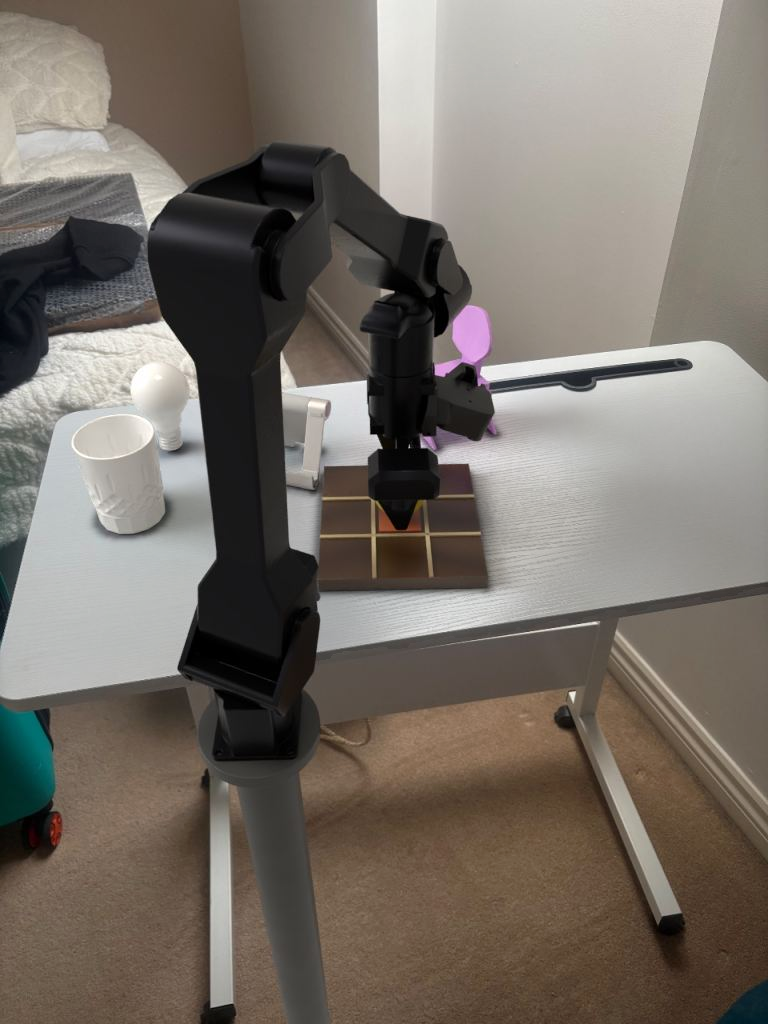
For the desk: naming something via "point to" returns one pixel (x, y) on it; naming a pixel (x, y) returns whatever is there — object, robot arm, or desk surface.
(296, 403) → the tablet stand
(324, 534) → the board
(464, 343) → the toy chair
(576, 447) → the desk surface
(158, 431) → the lightbulb
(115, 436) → the white cup
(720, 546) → the desk surface
